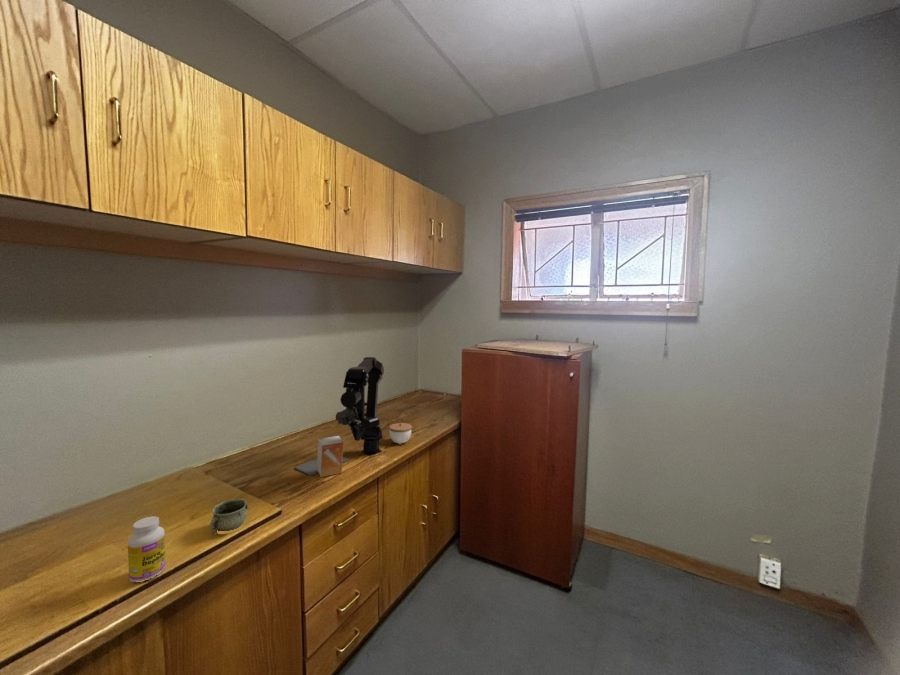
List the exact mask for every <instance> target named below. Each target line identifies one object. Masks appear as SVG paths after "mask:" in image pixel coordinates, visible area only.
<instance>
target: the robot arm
mask: <svg viewBox="0 0 900 675" xmlns="http://www.w3.org/2000/svg"><path fill="white" fill-rule="evenodd" d="M384 373H385V367H384V365H383V363H382V362H381V361H379V360H377V358H376V357H375V356H373V357H371V356H365V357H363V360H362V361H361V362H360V363H359V364H358V365H357V366H352V367H350V368H348V370H347V371H346V372H345V375H344V376H345V377H344V383H343V386H342V388H343V389H345V392H344V393H342V395H341V397H340V403H341V405H342V406H343V407H345V409H343V410H342V411H341V410H340V411H338V412H336V414H335V420H336V421H337V424H339V425H340V424H341V425H342V426H343V425H344V426H348V427H349V428H350V430H351V433H352V437H353V439H354V441H357V442H359V441H360V440H361V441H363V445H362V446H363V450H361V453H362V454H366V455H369V456H374V455H375V454H378V453H380V452H382V449H380V441H381V440H382V439H383V430H382V428H381V426H380V425H381V422H380V418H378V417H377V414H378V413H377V410H378V394H379V393H378V392H379V384H380V382H381V381H382V379H383V375H384ZM366 386H367V394H366V393H365V392H366V391H365V390H366ZM365 394H366V396H365ZM365 398H366V402H365ZM365 408H366V409H365Z"/></svg>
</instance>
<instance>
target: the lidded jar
mask: <svg viewBox="0 0 900 675" xmlns="http://www.w3.org/2000/svg"><path fill="white" fill-rule="evenodd" d="M411 435H412V424H410V423H407V422H406V423H405V422H398V423H397V422H396V423H393V424H390V425H389V437H390V439H391V440H392V442H393V443H394V442H395V443H398V444H397V445H402V444H401V443H405V442H406V443H408V441H409V440H410V438H411ZM395 443H394V444H395ZM406 443H405V444H406Z"/></svg>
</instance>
